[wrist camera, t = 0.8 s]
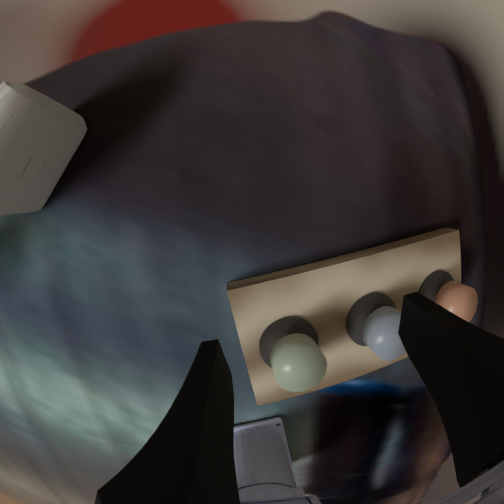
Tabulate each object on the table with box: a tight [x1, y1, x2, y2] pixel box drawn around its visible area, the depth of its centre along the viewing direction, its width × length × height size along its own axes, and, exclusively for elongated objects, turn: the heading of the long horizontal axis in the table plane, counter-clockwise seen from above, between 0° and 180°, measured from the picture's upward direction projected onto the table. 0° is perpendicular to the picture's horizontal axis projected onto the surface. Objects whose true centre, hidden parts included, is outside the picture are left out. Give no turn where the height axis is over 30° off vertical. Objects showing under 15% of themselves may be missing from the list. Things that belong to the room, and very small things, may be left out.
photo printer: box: [0, 81, 87, 216], centre depth 17 cm, size 10×4×12 cm, turn 143°
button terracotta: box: [435, 281, 478, 322], centre depth 23 cm, size 4×4×2 cm
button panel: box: [227, 228, 461, 406], centre depth 27 cm, size 12×24×3 cm, turn 102°
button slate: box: [362, 306, 406, 361], centre depth 22 cm, size 4×4×2 cm
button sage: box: [270, 333, 327, 392], centre depth 22 cm, size 4×4×2 cm
